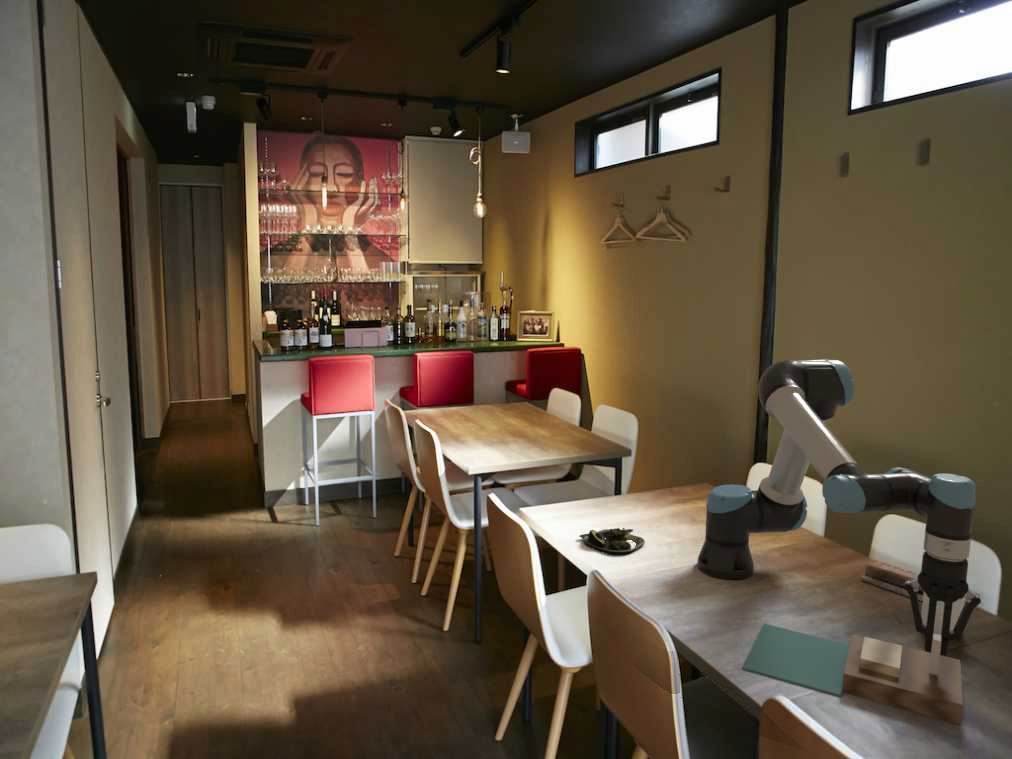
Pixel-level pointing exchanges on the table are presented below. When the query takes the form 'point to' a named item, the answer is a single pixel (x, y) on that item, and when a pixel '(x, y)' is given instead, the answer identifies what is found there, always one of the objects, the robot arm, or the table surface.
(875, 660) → the maple tile
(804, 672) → the teal mat
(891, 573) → the packaged product
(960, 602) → the jar
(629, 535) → the salad plate
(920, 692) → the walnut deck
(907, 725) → the table surface
